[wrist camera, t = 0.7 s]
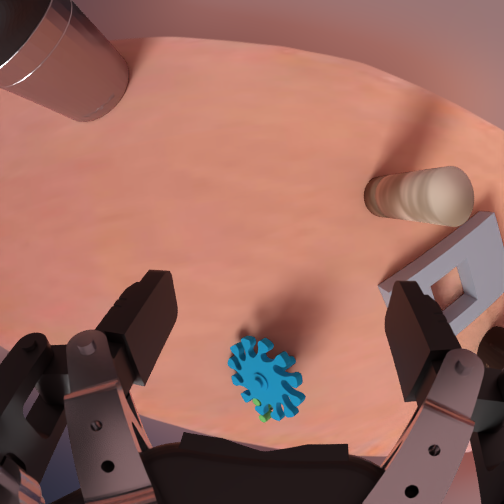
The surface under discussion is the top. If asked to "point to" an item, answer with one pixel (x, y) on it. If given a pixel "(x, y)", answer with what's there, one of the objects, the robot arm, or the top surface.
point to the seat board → (461, 269)
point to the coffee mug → (492, 348)
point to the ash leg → (422, 196)
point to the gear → (266, 379)
